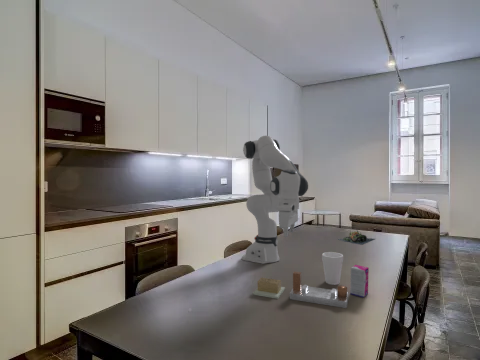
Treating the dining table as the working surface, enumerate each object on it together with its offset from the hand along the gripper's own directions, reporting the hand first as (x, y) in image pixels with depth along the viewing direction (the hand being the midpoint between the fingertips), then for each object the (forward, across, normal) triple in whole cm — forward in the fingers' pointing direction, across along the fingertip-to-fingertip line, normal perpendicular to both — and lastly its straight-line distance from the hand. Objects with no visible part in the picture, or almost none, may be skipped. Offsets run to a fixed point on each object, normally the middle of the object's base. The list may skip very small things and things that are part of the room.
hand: (289, 234), depth 139 cm
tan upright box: (+22, +14, -5) cm, 26 cm away
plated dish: (+26, -109, +23) cm, 115 cm away
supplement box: (+22, +1, +31) cm, 38 cm away
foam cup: (+23, -9, +19) cm, 31 cm away
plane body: (+22, +12, +16) cm, 30 cm away
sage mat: (+23, +14, -5) cm, 27 cm away
